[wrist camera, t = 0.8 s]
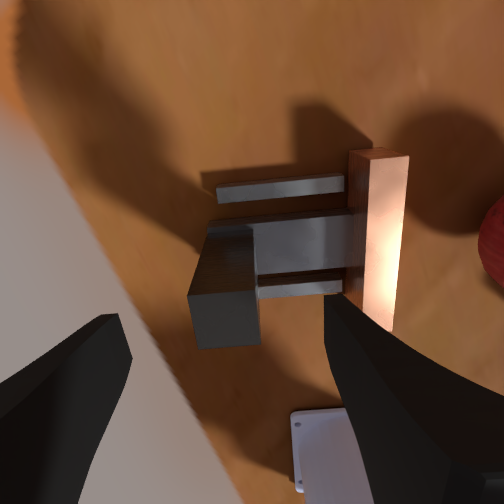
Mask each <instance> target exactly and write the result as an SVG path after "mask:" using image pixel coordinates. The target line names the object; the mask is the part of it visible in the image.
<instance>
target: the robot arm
mask: <svg viewBox="0 0 504 504" xmlns="http://www.w3.org/2000/svg"><path fill="white" fill-rule="evenodd" d="M324 344H325V348H326V353H327V357H328V361H329V365H330V369H331V372H332V374H333V377H334V380H335V383H336V385H337V388H338V391H339V393H340V396H341V399H342V401H343V404H344V407H345V408H335V409H321V410H308V411H296V412H293V413H292V414H291V416H290V419H291V433H292V447H293V462H294V476H295V488H296V491H298V492H304V496H305V503H306V504H504V396H503V395H500V394H498V393H496V392H494V391H491V390H489V389H487V388H485V387H483V386H480V385H478V384H476V383H474V382H472V381H470V380H468V379H466V378H464V377H462V376H460V375H458V374H456V373H454V372H452V371H450V370H448V369H447V368H445V367H443V366H441V365H439V364H437V363H436V362H434V361H432V360H431V359H429V358H427V357H426V356H424V355H422V354H421V353H419V352H417V351H416V350H414V349H413V348H411V347H409V346H408V345H406V344H405V343H403V342H402V341H401V340H399V339H398V338H396V337H395V336H393V335H392V334H391V333H389V332H388V331H387V330H385V329H384V328H383V327H381V326H380V325H379V324H377V323H376V322H375V321H374V320H372V319H371V318H370V317H369V316H367V315H366V314H365V313H364V312H363V311H361V310H360V309H359V308H358V307H357V306H356V305H354V304H353V303H352V302H351V301H350V300H349V299H347V298H346V297H345V296H344V295H343V294H333V295H324ZM132 359H133V358H132V355H131V352H130V349H129V346H128V343H127V340H126V337H125V334H124V331H123V328H122V324H121V321H120V319H119V315H118V313H116V314H104V315H100V316H98V317H96V318H95V319H93V320H92V321H90V322H89V323H87V324H86V325H84V326H83V327H82V328H80V329H79V330H77V331H76V332H74V333H73V334H72V335H70V336H69V337H68V338H66V339H65V340H63V341H62V342H61V343H59V344H58V345H57V346H55V347H54V348H52V349H51V350H49V351H48V352H47V353H45V354H44V355H42V356H41V357H39V358H38V359H36V360H35V361H33V362H32V363H30V364H29V365H28V366H26V367H25V368H23V369H22V370H20V371H19V372H17V373H16V374H14V375H13V376H11V377H9V378H8V379H6V380H5V381H3V382H1V383H0V504H78V501H79V498H80V495H81V492H82V489H83V486H84V483H85V480H86V477H87V474H88V471H89V468H90V465H91V462H92V460H93V458H94V455H95V453H96V450H97V448H98V446H99V443H100V441H101V439H102V437H103V434H104V432H105V430H106V428H107V425H108V423H109V421H110V419H111V416H112V414H113V412H114V410H115V407H116V405H117V403H118V400H119V398H120V396H121V394H122V391H123V389H124V386H125V383H126V380H127V377H128V373H129V370H130V366H131V363H132Z"/></svg>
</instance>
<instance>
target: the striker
mask: <svg viewBox="0 0 504 504" xmlns="http://www.w3.org/2000/svg"><path fill="white" fill-rule="evenodd" d="M408 165H409V156H408V155H404V154H401V153H398V152H395V151H391V150H388V149H385V148H381V147H379V148H369V149H359V150H349V168H348V208H338V209H327V210H317V211H306V212H296V213H285V214H275V215H264V216H254V217H244V218H233V219H223V220H212V221H209V224H208V226H207V232H208V234H207V237H206V240H205V243H204V246H203V249H202V252H201V255H200V258H199V261H198V264H197V267H196V270H195V273H194V276H193V279H192V282H191V285H190V288H189V291H188V294H187V299H188V303H189V308H190V313H191V317H192V322H193V327H194V332H195V336H196V341H197V346H198V349H211V348H223V347H235V346H247V345H260V344H261V332H260V311H259V290H258V275H261V274H272V273H283V272H295V271H306V270H317V269H328V268H339V267H346V289H345V297H346V298H347V299H349V300H350V301H351V302H352V303H353V304H354V305H356V306H357V307H358V308H359V309H360V310H361V311H363V312H364V313H365V314H366V315H367V316H369V317H370V318H371V319H372V320H374V321H375V322H376V323H377V324H379V325H380V326H381V327H383V328H384V329H385V330H387V331H392V325H393V315H394V305H395V295H396V285H397V275H398V265H399V255H400V245H401V235H402V225H403V215H404V205H405V195H406V185H407V175H408Z"/></svg>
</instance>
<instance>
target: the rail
mask: <svg viewBox="0 0 504 504" xmlns="http://www.w3.org/2000/svg"><path fill="white" fill-rule="evenodd" d="M333 192H344V175H342V174H341V173H340V172H336V173H326V174H315V175H305V176H295V177H285V178H275V179H265V180H255V181H245V182H235V183H225V184H218V185H217V187H216V193H217V199H218V204H221V203H231V202H241V201H251V200H262V199H272V198H282V197H292V196H303V195H313V194H323V193H333ZM258 290H259V299H265V298H276V297H288V296H300V295H311V294H323V293H334V292H342V279H341V277H340V275H339V273H338V272H331V273H320V274H309V275H297V276H286V277H275V278H264V279H258Z"/></svg>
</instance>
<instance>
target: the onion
mask: <svg viewBox="0 0 504 504" xmlns="http://www.w3.org/2000/svg"><path fill="white" fill-rule="evenodd" d="M478 252H479V255H480V258H481V261H482V264H483V267H484V269H485V271H486V272H487V273H488V274H489V275H490V276H491V277H492V278H493V279H494V280H495V281H496V282H497V283H498V284H500V285H501V286H502V287H503V288H504V195H503V196H502V197H501V198H500V199H499V200H498V201H497V202H496V203H495V204H494V205H493V206H492V207H491V208H490V209H489V210H488V212H487V214H486V216H485V218H484V220H483V222H482V224H481V226H480V230H479V239H478Z"/></svg>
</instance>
